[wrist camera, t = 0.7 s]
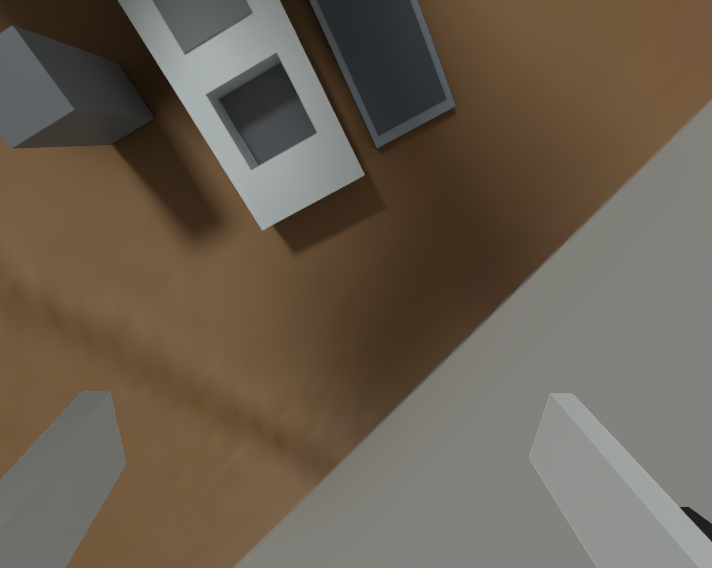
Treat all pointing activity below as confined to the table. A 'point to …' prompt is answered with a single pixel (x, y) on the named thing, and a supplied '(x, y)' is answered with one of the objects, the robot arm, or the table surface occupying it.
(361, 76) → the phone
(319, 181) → the power strip
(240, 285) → the table surface
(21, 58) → the block
